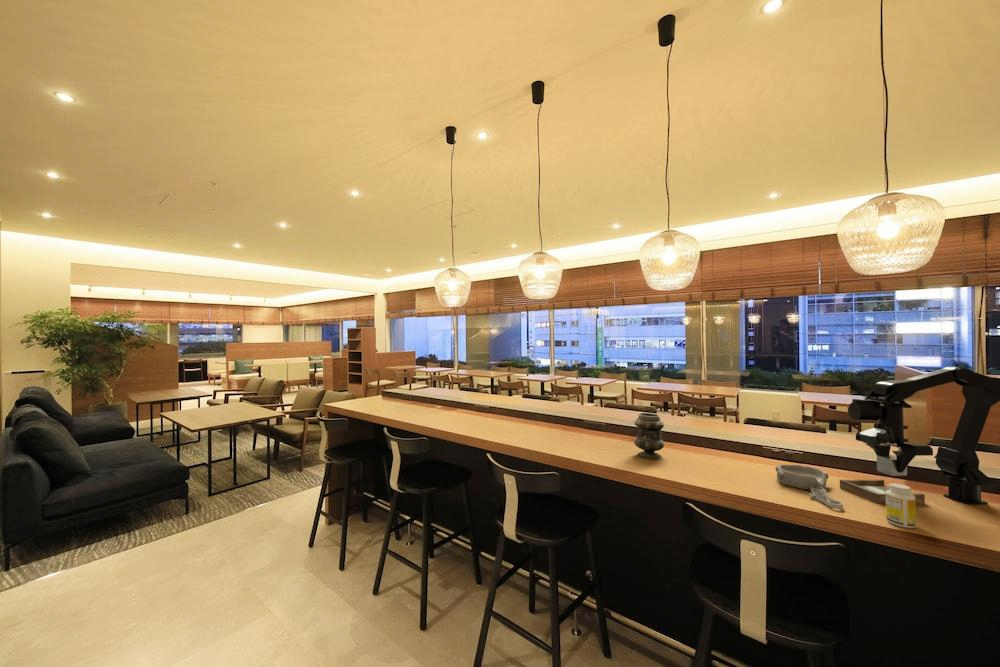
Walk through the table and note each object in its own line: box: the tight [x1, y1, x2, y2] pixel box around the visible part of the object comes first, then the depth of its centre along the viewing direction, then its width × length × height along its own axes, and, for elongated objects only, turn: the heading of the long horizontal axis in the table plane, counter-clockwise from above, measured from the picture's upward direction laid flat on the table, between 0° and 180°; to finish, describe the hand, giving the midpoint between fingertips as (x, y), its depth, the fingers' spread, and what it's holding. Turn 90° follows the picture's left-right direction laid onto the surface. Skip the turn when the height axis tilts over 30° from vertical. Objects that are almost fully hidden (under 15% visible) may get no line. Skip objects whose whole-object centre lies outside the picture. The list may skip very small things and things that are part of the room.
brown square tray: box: [839, 479, 926, 505], centre depth 120 cm, size 14×13×3 cm
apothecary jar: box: [633, 412, 665, 461], centre depth 162 cm, size 12×12×18 cm
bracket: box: [808, 486, 844, 510], centre depth 117 cm, size 8×2×15 cm
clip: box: [876, 454, 908, 477], centre depth 121 cm, size 5×4×5 cm
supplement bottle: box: [885, 482, 917, 529], centre depth 101 cm, size 6×6×10 cm
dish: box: [774, 464, 829, 490], centre depth 130 cm, size 14×14×5 cm
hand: (892, 469), depth 121 cm, fingers closed on clip, 4 cm apart
